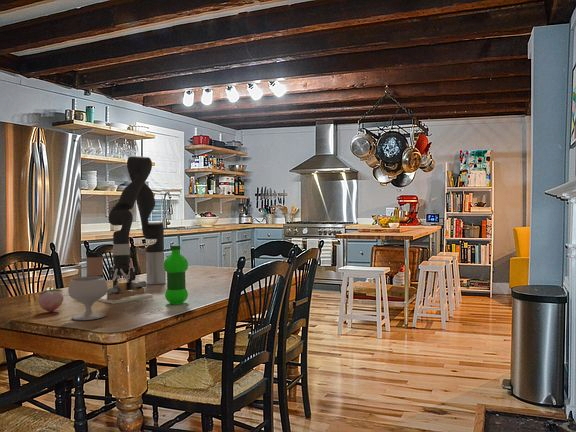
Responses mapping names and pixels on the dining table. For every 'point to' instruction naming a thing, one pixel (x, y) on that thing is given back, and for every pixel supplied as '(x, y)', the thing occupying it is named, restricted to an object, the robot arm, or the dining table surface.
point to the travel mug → (94, 263)
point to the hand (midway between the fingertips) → (122, 289)
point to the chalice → (87, 294)
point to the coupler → (123, 287)
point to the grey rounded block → (114, 293)
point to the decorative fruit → (50, 299)
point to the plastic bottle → (176, 276)
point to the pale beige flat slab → (126, 297)
